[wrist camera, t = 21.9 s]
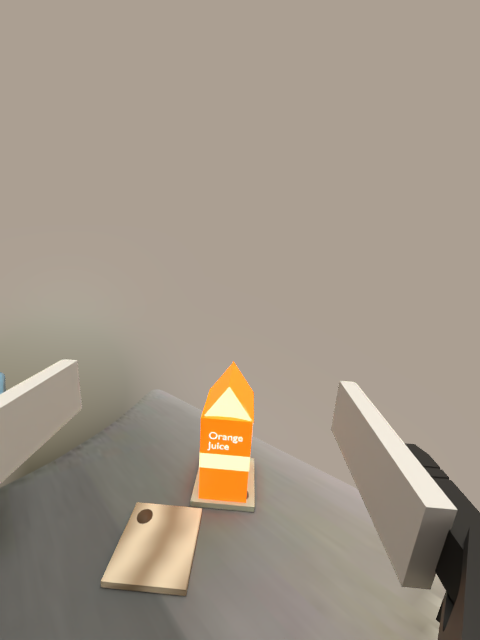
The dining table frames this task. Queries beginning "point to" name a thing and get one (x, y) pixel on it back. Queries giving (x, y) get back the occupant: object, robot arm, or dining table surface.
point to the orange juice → (226, 438)
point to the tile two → (227, 504)
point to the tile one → (155, 550)
